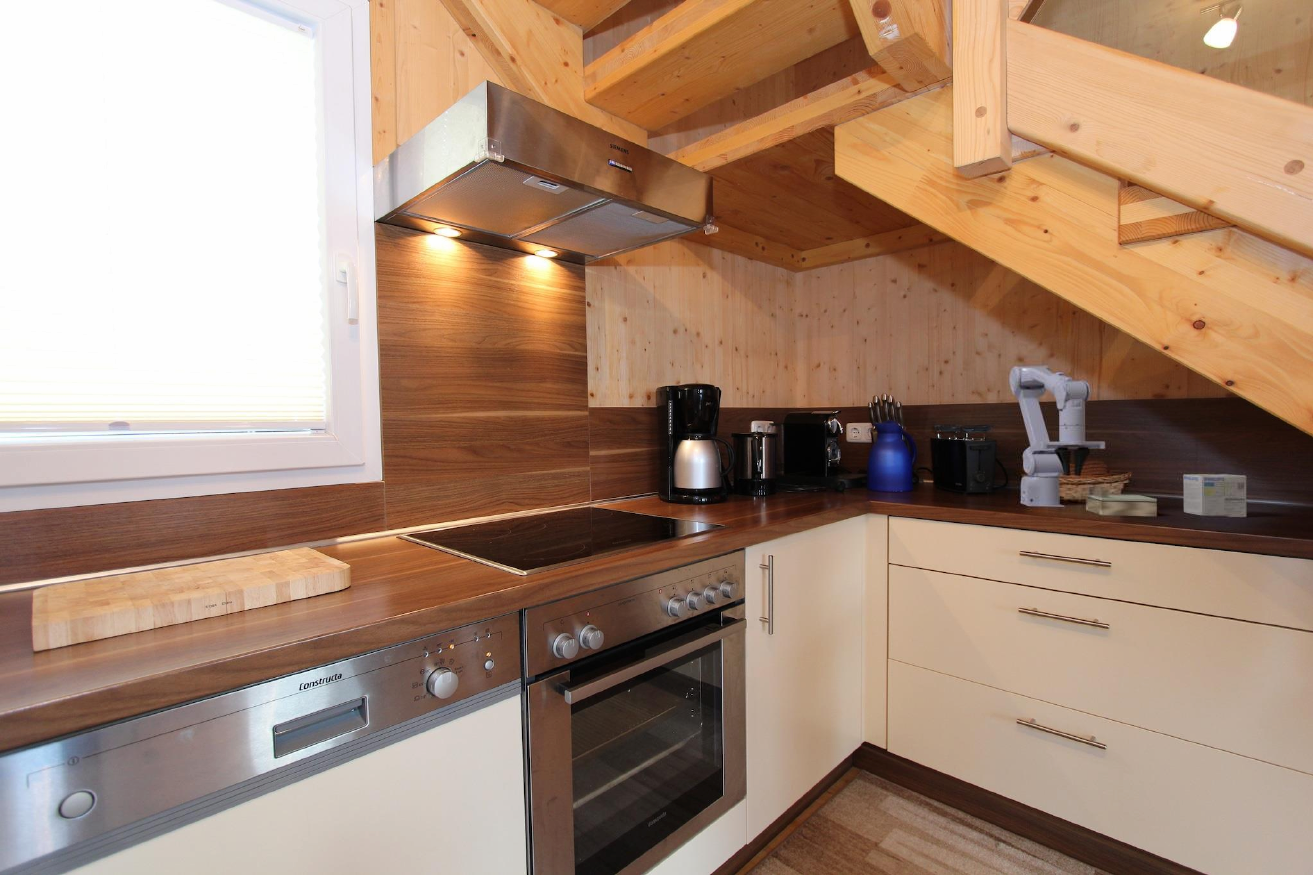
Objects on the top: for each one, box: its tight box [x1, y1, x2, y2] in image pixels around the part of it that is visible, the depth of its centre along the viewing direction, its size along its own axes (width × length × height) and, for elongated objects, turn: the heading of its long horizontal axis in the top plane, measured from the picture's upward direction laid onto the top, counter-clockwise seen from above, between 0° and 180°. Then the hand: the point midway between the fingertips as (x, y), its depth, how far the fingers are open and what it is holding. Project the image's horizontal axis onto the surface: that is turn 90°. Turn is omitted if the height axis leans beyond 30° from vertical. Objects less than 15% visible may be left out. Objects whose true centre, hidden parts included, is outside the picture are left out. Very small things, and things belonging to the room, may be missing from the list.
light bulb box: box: [1182, 473, 1247, 518], centre depth 154 cm, size 11×7×11 cm, turn 84°
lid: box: [1085, 486, 1157, 502], centre depth 158 cm, size 12×10×3 cm
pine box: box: [1085, 496, 1158, 517], centre depth 158 cm, size 12×10×4 cm
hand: (1072, 475), depth 160 cm, fingers closed
